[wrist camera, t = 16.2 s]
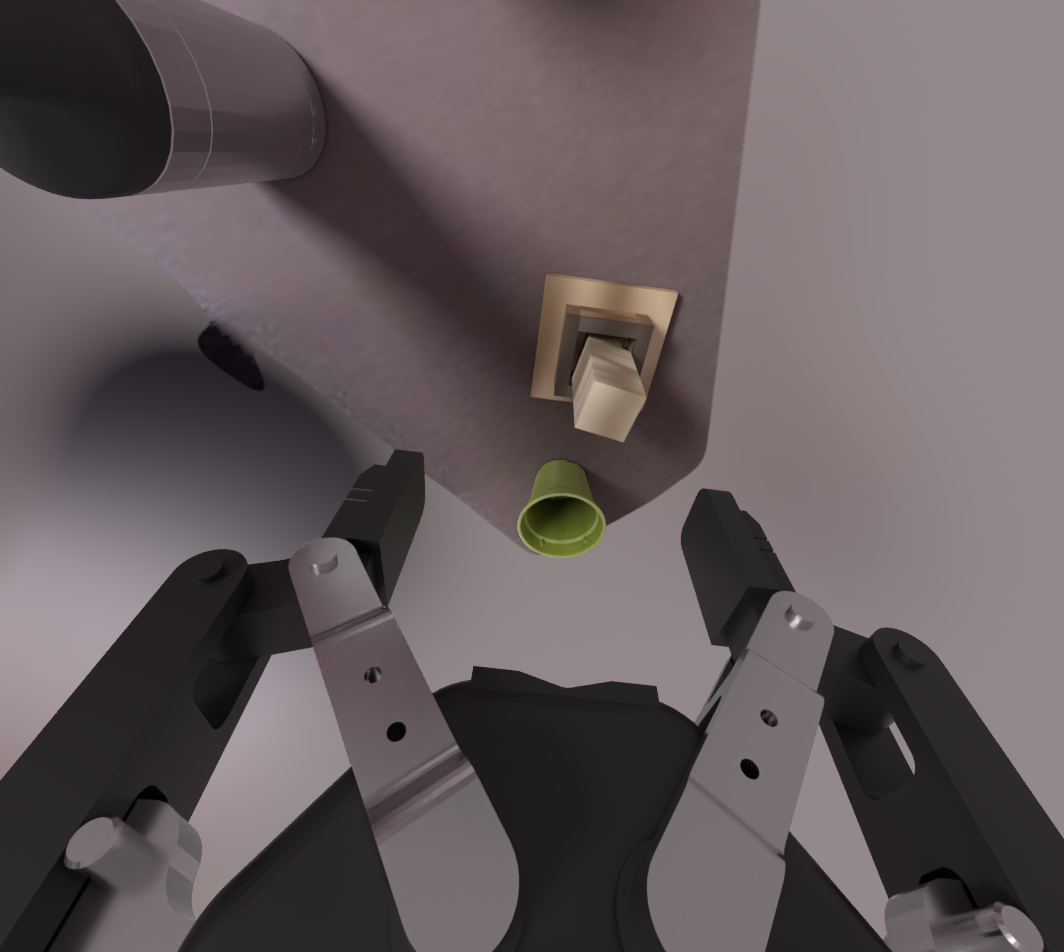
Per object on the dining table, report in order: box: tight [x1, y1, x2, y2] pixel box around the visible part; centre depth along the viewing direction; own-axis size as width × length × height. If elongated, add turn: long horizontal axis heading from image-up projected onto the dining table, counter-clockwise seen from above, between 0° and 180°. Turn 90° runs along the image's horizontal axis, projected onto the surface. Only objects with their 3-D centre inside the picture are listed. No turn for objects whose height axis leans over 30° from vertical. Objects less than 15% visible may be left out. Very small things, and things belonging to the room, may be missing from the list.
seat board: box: [530, 273, 678, 411], centre depth 42 cm, size 12×12×4 cm
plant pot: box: [517, 460, 606, 558], centre depth 50 cm, size 9×9×9 cm
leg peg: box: [572, 332, 647, 442], centre depth 38 cm, size 4×4×13 cm
